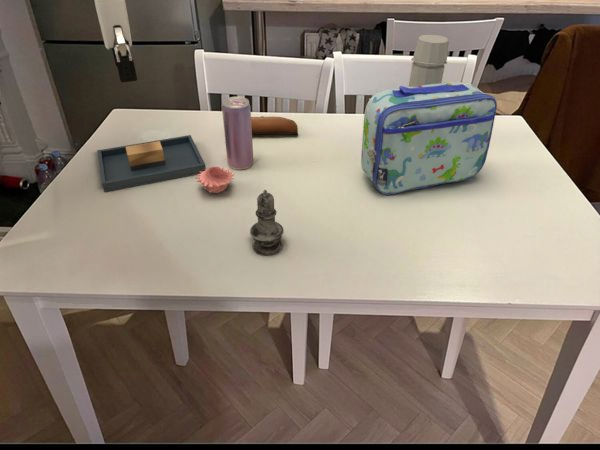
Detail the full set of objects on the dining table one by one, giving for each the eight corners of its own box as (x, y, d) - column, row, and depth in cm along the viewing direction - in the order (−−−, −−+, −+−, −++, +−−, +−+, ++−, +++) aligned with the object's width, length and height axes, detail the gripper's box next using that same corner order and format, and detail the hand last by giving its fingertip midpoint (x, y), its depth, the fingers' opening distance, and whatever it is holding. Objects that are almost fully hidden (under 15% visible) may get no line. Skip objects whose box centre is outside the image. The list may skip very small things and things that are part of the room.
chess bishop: (290, 242, 84) (289, 186, 77) (272, 260, 80) (270, 203, 73) (263, 232, 86) (260, 176, 79) (244, 249, 82) (239, 193, 75)
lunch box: (370, 201, 95) (382, 103, 82) (353, 174, 103) (361, 82, 90) (484, 185, 100) (511, 91, 87) (458, 161, 108) (481, 72, 96)
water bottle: (429, 151, 112) (450, 45, 97) (396, 146, 114) (412, 41, 99) (432, 135, 119) (453, 33, 104) (401, 131, 121) (417, 30, 106)
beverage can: (250, 171, 104) (246, 108, 95) (224, 169, 104) (217, 106, 95) (256, 158, 108) (252, 97, 99) (231, 156, 109) (226, 95, 100)
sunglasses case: (296, 121, 124) (296, 106, 118) (297, 144, 121) (298, 129, 115) (228, 122, 123) (225, 107, 117) (228, 145, 120) (225, 131, 114)
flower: (243, 189, 98) (241, 166, 94) (215, 206, 93) (212, 182, 90) (217, 177, 102) (215, 154, 98) (189, 192, 97) (185, 169, 94)
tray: (104, 192, 97) (101, 183, 95) (99, 158, 108) (97, 150, 107) (206, 172, 103) (205, 164, 102) (191, 142, 115) (190, 134, 113)
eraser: (131, 171, 102) (127, 155, 100) (129, 162, 105) (125, 146, 103) (165, 164, 105) (162, 149, 102) (162, 156, 108) (159, 140, 105)
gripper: (82, -27, 90) (104, 62, 100) (86, -10, 77) (110, 90, 88) (122, -29, 92) (139, 58, 103) (132, -13, 80) (151, 85, 90)
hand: (126, 73), depth 95 cm, fingers open, 9 cm apart
